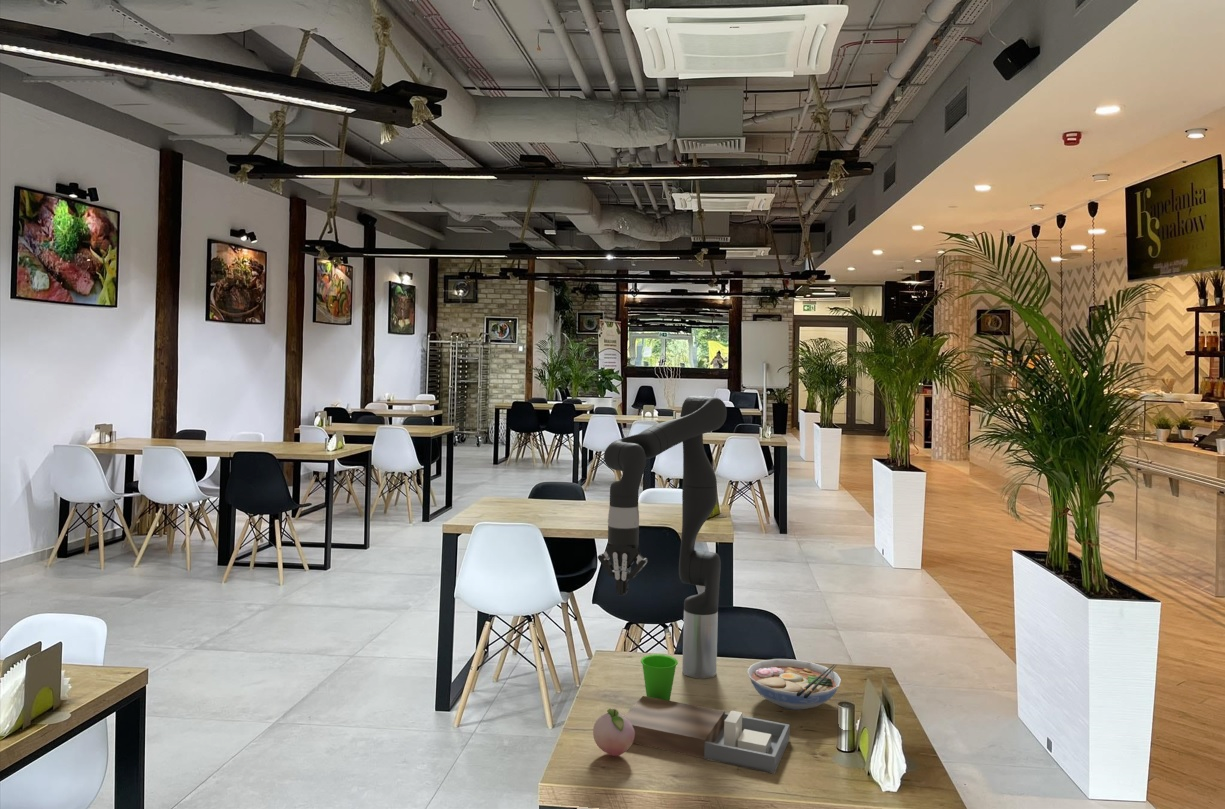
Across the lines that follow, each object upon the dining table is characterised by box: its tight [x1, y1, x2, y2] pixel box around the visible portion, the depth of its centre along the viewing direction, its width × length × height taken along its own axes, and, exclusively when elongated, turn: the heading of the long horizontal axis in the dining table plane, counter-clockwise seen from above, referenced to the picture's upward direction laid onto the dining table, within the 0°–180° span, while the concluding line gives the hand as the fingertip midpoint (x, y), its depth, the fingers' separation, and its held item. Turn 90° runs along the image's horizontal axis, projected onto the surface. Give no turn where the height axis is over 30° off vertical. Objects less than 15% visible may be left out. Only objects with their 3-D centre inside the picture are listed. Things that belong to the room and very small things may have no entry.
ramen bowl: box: [746, 658, 842, 711], centre depth 198 cm, size 25×23×8 cm
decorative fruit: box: [592, 708, 635, 757], centre depth 169 cm, size 9×8×10 cm
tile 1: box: [724, 710, 743, 747], centre depth 175 cm, size 6×6×2 cm
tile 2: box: [738, 729, 771, 753], centre depth 173 cm, size 6×6×2 cm
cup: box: [640, 654, 678, 701], centre depth 195 cm, size 9×9×11 cm
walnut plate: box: [623, 695, 726, 759], centre depth 180 cm, size 16×20×4 cm
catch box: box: [703, 712, 791, 775], centre depth 173 cm, size 17×15×4 cm
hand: (622, 594), depth 195 cm, fingers closed
